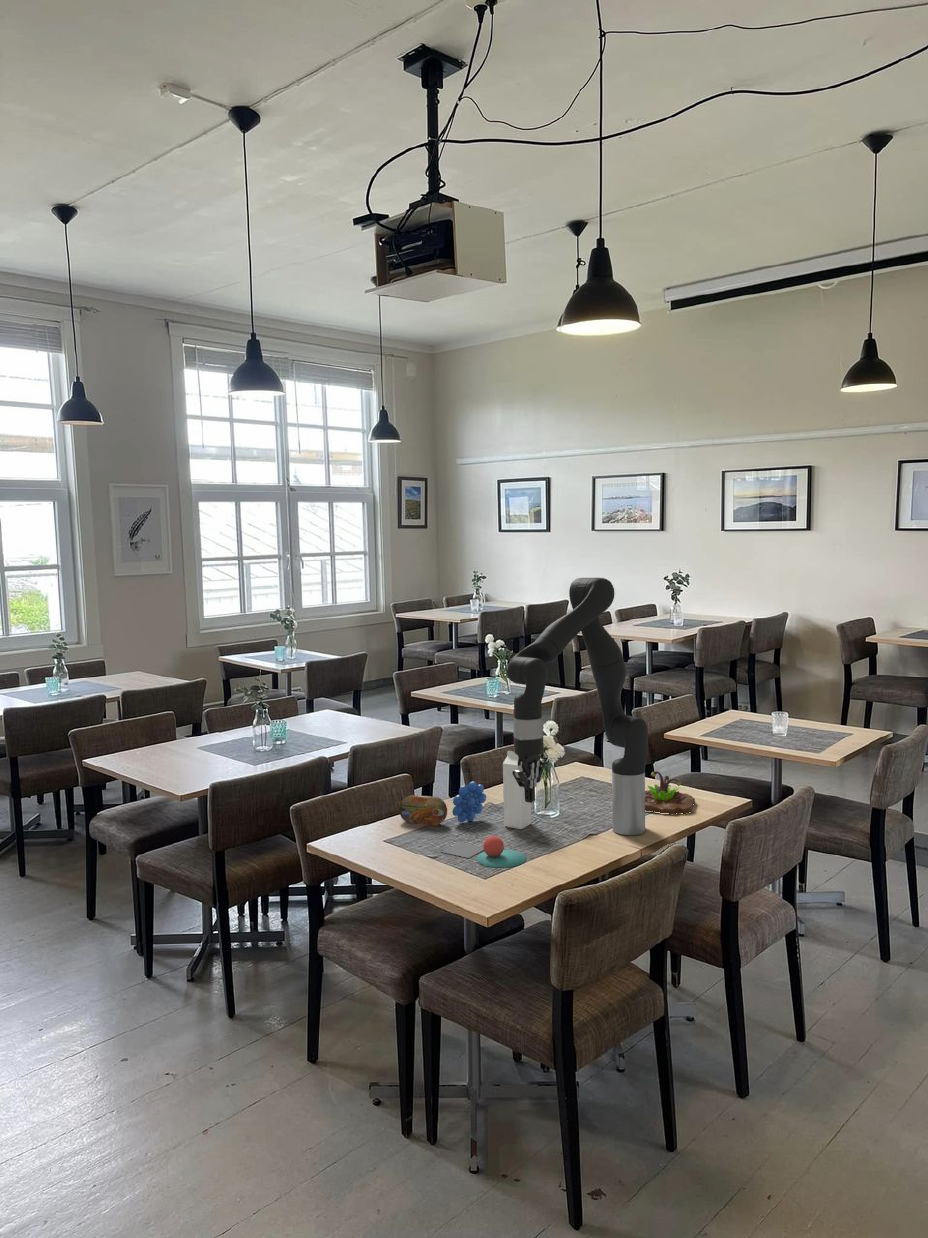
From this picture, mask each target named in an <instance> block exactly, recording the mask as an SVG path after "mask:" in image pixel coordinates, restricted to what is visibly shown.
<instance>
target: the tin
mask: <svg viewBox="0 0 928 1238" xmlns="http://www.w3.org/2000/svg"><path fill="white" fill-rule="evenodd" d="M398 812H399V815H400V817H401V820H403V821H404V822H405V823H407V824H410V825H420V826H430V827H431V826H433V827H435V826H438V825H440V824H442V823H443V822H444V821H445V820H446V818H447V816H448V806H447V804H446V802H445V801H444V800H443V799H442V798H440V797H438V796H430V795H429V796H428V795H416V794H413V795H411V794H410V795H409V796H405V797H404V798H402V800H401V801H400V803H399V806H398Z"/></svg>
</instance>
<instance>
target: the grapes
mask: <svg viewBox="0 0 928 1238" xmlns="http://www.w3.org/2000/svg"><path fill="white" fill-rule="evenodd" d="M484 790H485V787H484V785H483V784H478V783H477V782H475V781H470V782H469V783H468V785H462V786H460V788H459V790H458V794H457V795H455V796H454V798H453V799H452V804H453V805H454V807H453V808H452V815H453V816H455V817H457V820H458V822H459V823H463V822H465V821H468V822H472V821H474V820H475V819H476V815H479V814H481V813H482V812H483V811H484V806H483V804H484V803H485V802H486V800H487V794H485V793H484Z"/></svg>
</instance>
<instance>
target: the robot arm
mask: <svg viewBox="0 0 928 1238" xmlns="http://www.w3.org/2000/svg"><path fill="white" fill-rule="evenodd" d="M568 593H569V601H570V605H571V608H572V610H571V611H569V612H568V613H567V614H565V615H563V616H561V617H559V618H558V619H556V620H555V621H553V622H552V623H550V624H549V625H548V626H547V627H546V628H545V629H544V630H543V631H542V632H541V633H540V634H539V636H537V638H536V639H535V641H534V642H532V643H531V644H529V645H528V646H526V647H525V648H523V649H522V650H520V651H519V652H518V653H516V654H515V655H514V656H513V657H512V658H511V659H510V660H509V662H508V665H507V668H506V674H507V678H508V680H509V681H510V682H511V683H514V684H517V685H524V686H525V689H524V693H520V694H517V695H516V696H514V700H513V714H514V715H513V717H514V718H513V719H514V720H513V751H514V753H515V754H517V755H518V768H517V770H513V772H512V774H513V776H514V778H515V779H516V781H517V783H518V785H519V787H524V789H525V801H526V802H529V803H531V804H532V803H534V802H536V787H537V784H539V783H540V781H541V779H542V775H543V772H544V769H545V766H546V761H543V760H541V755H543V753H544V751H545V750H544V724H543V713H542V712H543V710H542V707H543V706H542V702H543V701H542V700H543V698H544V697H543V696H544V693H545V690H546V685H547V680H548V669H547V665H546V664H549V663H553V662H554V661H555V660H556V659H557V658H558V656H559V655H560V654H561V653H562V652H563V651H564V649H565V648H566V647H567V646H568V645H569V644H570V643H571V641H572V640H573V639H574V638H575V637H576V636H577V635H578V634H579V633H581V635H582V639H583V641H584V645H585V648H586V651H587V655H588V660H589V666H590V668H591V673H592V675H593V676H592V677H593V679H594V682H595V686H596V690H597V694H598V698H599V702H600V703H599V704H600V709H601V715H602V721H603V727H604V732H605V735H606V738H607V740H608V742H609V743H610V744H611V745H613V746H615V747H618V748H619V747H620V748H623V749H624V752H623V757H621V758H617V759H614V760H613V761H612V763H611V785H612V789H611V791H612V792H611V793H612V794H611V795H612V796H611V797H612V801H611V802H612V831H613V832H614V833H616V834H620V835H622V836H623V835H624V836H637V835H638V836H639V835H642V834H644V833H645V832H646V812H645V791H646V765H647V761H648V752H649V750H648V749H649V748H648V747H649V728H648V724H647V722H646V721H645V719H643V718H642V717H637V716H633V715H628V714H626V713H625V712H624V709H623V708H624V707H623V705H622V701H621V700H622V698H621V695H622V694H621V693H622V690H623V688H624V684H625V681H626V678H627V669H626V664H625V660H624V655H623V651H622V650H621V647H620V646H619V644H618V643H617V642H616V640H615V639H614V638H613V637H612V636H611V634H610V633H609V632H608V631H607V630H606V629H605V627H604V625H603V624H602V622H601V620H600V617H599V616H601V615H602V614H603V613H604V612H605V611H608V609H610V607H611V606H612V604H613V602H614V599H615V595H616V593H615V588H614V585H613V583H612V581H610V580H609V579H607V578H605V577H578V578H575V579H573V580H572V582H571V583H570V586H569V591H568Z"/></svg>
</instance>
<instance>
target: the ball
mask: <svg viewBox="0 0 928 1238" xmlns="http://www.w3.org/2000/svg"><path fill="white" fill-rule="evenodd" d="M482 844H483V845H482V847H483V849H484V851H483V852H485V853H486V854H487V855H488V856H490V857H497V856H499V855H501V853H502V852H503V850H504V848H505V844H504V842H503V840H502V838H500V837H499V836H497V835H491V836H488V837H487V838H486V839H485V840H484V842H483V843H482Z"/></svg>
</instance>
